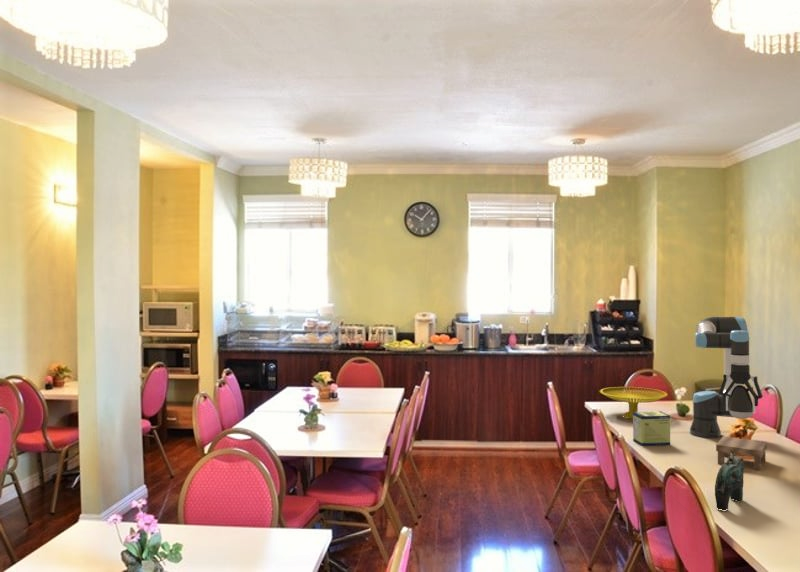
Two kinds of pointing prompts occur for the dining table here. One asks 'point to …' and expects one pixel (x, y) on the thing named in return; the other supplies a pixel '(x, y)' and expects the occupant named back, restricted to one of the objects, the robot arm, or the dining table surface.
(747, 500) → the dining table surface
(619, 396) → the cake stand
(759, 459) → the walnut footstool
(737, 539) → the dining table surface
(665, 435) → the protein box
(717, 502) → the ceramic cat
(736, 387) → the dark grey egg shape
